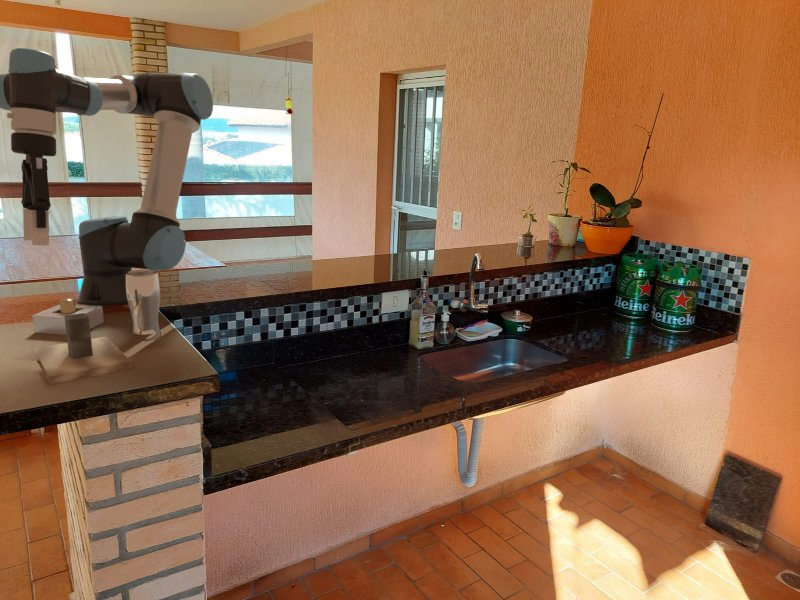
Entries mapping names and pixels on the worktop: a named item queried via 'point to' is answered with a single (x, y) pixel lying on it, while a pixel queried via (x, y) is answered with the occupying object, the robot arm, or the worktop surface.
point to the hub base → (81, 365)
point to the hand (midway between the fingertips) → (35, 242)
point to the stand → (67, 306)
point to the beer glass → (144, 302)
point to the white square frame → (55, 320)
